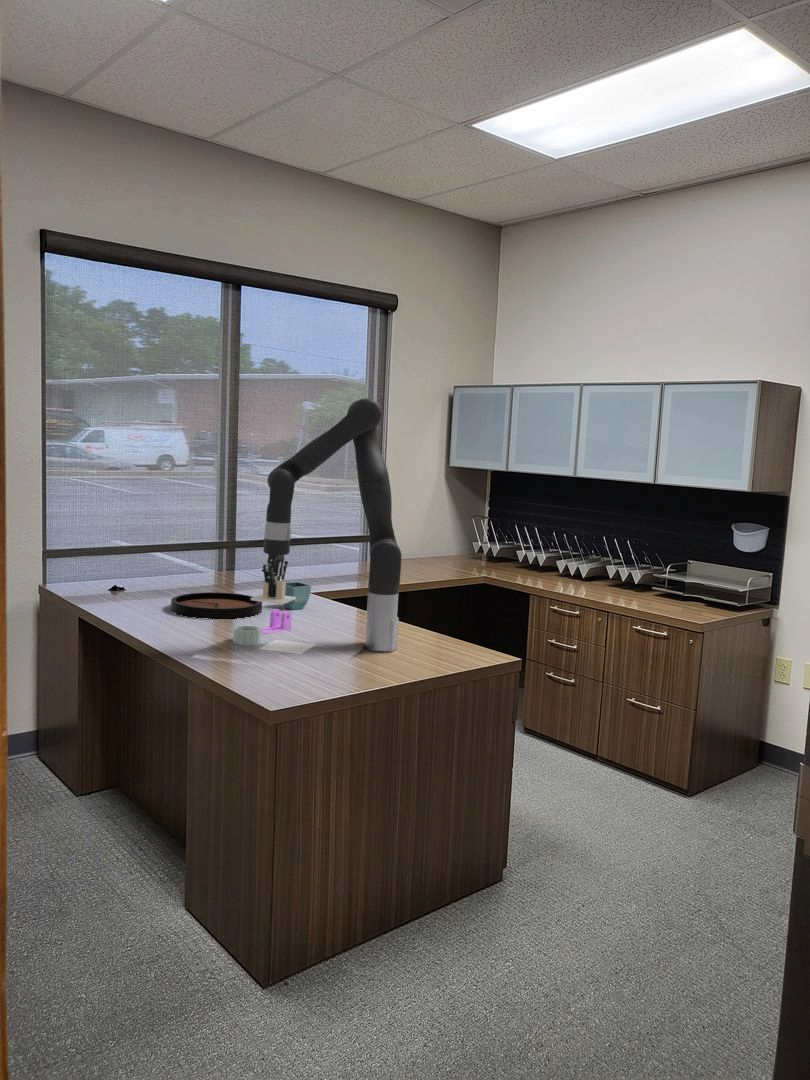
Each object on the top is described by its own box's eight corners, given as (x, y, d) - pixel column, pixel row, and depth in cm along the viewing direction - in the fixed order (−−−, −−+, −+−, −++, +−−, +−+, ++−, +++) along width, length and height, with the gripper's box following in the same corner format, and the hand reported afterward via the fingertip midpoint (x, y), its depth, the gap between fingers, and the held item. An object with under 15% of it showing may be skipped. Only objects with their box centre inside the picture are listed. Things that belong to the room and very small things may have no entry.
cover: (295, 599, 252) (297, 580, 251) (283, 604, 242) (284, 584, 242) (264, 595, 254) (265, 576, 254) (250, 600, 244) (251, 581, 244)
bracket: (276, 629, 277) (277, 608, 276) (290, 631, 274) (291, 610, 273) (251, 635, 265) (252, 613, 264) (265, 638, 263) (266, 616, 262)
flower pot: (310, 609, 312) (312, 585, 311) (292, 611, 306) (293, 587, 305) (295, 605, 318) (296, 581, 317) (277, 607, 312) (278, 583, 311)
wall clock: (280, 603, 301) (204, 612, 278) (279, 614, 301) (204, 624, 278) (227, 589, 322) (153, 596, 299) (227, 600, 322) (153, 608, 299)
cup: (264, 643, 255) (265, 627, 254) (253, 649, 247) (254, 632, 247) (240, 640, 257) (240, 624, 256) (228, 646, 249) (228, 629, 249)
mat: (316, 647, 254) (316, 644, 254) (300, 657, 241) (300, 653, 241) (275, 642, 257) (275, 639, 257) (257, 652, 244) (257, 648, 244)
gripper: (280, 540, 239) (276, 601, 240) (298, 536, 252) (294, 594, 254) (255, 538, 240) (252, 598, 242) (274, 534, 254) (271, 591, 256)
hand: (273, 595), depth 248 cm, fingers closed on cover, 2 cm apart
